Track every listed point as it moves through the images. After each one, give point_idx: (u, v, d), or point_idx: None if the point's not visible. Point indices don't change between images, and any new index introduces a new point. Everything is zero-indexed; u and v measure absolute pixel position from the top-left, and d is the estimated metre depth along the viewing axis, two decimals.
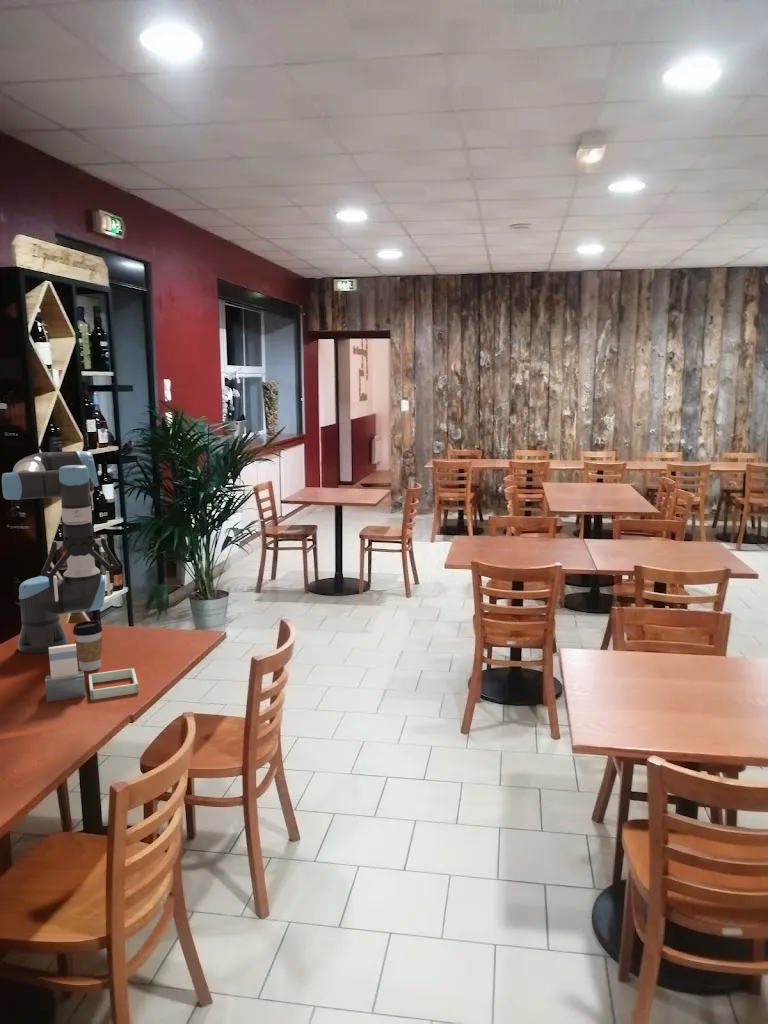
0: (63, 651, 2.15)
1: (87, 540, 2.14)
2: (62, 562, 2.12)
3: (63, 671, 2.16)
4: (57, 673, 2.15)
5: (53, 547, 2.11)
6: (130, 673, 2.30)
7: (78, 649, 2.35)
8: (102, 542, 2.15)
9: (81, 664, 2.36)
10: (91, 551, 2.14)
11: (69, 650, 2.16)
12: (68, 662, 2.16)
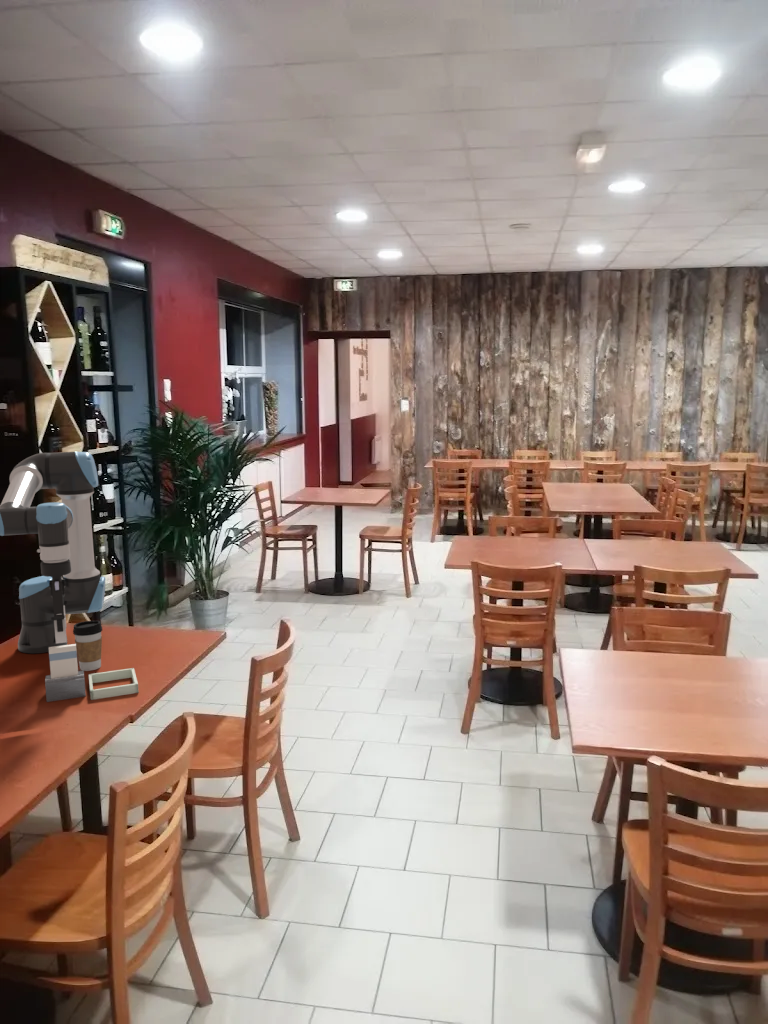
0: (63, 651, 2.15)
1: None
2: None
3: (63, 671, 2.16)
4: (57, 673, 2.15)
5: None
6: (130, 673, 2.30)
7: (78, 649, 2.35)
8: (52, 586, 2.06)
9: (81, 664, 2.36)
10: (50, 592, 2.09)
11: (69, 650, 2.16)
12: (68, 662, 2.16)
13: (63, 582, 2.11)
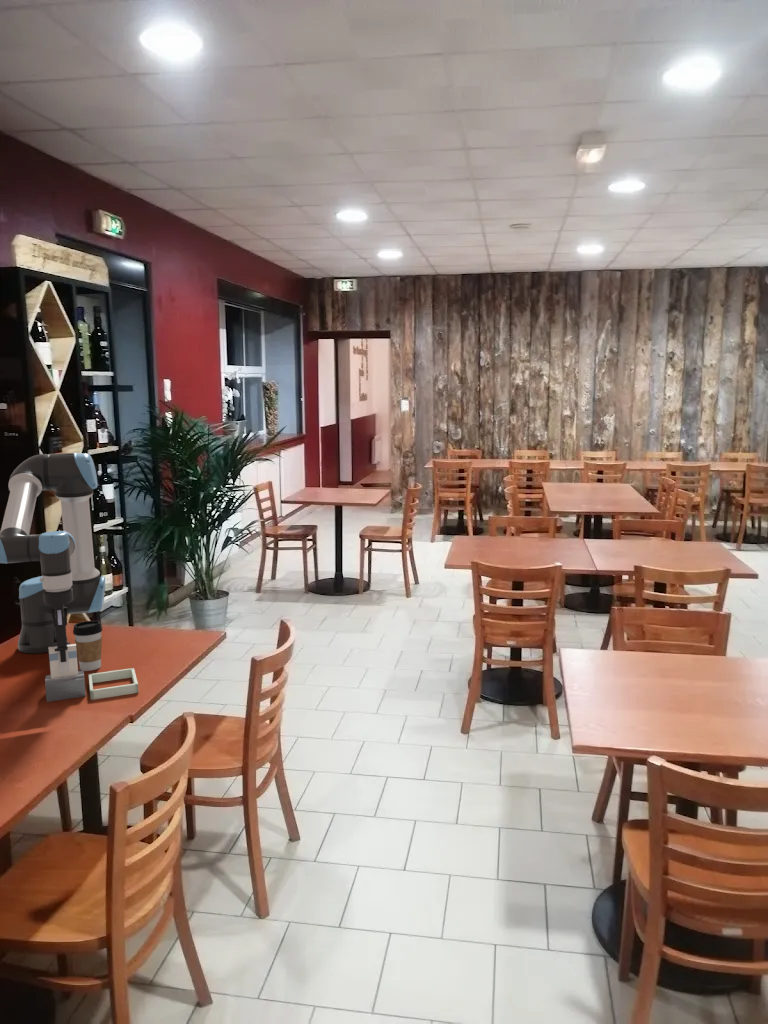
0: None
1: (54, 608, 2.11)
2: None
3: None
4: (57, 673, 2.15)
5: None
6: (130, 673, 2.30)
7: (78, 649, 2.35)
8: None
9: (81, 664, 2.36)
10: (53, 622, 2.12)
11: (69, 650, 2.16)
12: None
13: (65, 612, 2.13)
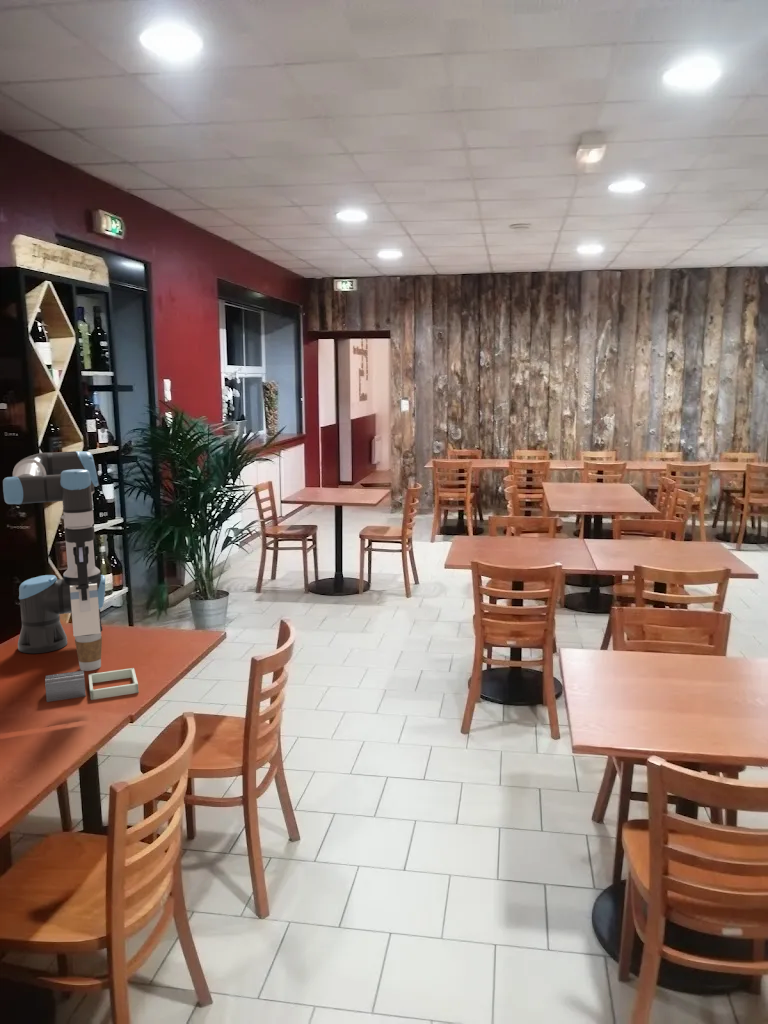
0: None
1: (76, 545, 2.10)
2: None
3: None
4: (78, 612, 2.15)
5: None
6: (130, 673, 2.30)
7: (78, 649, 2.35)
8: (76, 558, 2.08)
9: (81, 664, 2.36)
10: (74, 559, 2.12)
11: (90, 589, 2.15)
12: None
13: (87, 550, 2.12)
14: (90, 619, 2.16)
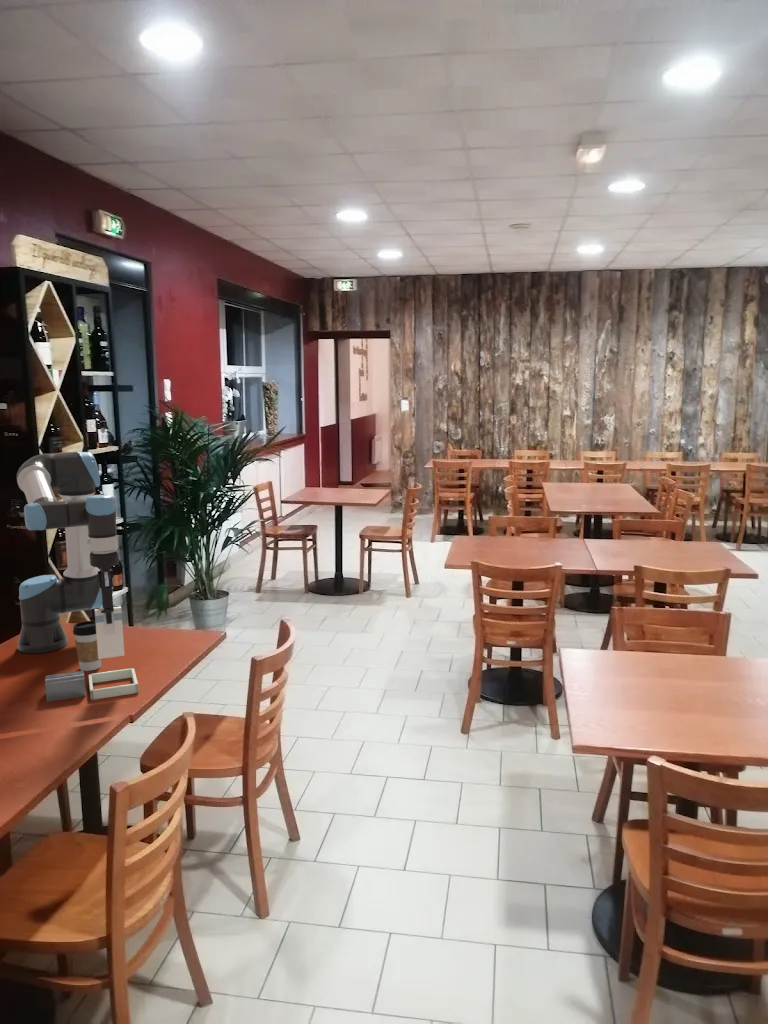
0: None
1: (101, 570, 2.14)
2: None
3: None
4: (102, 635, 2.18)
5: None
6: (130, 673, 2.30)
7: (78, 649, 2.35)
8: (102, 582, 2.12)
9: (81, 664, 2.36)
10: (99, 583, 2.15)
11: (114, 612, 2.19)
12: None
13: (112, 574, 2.16)
14: (114, 642, 2.20)
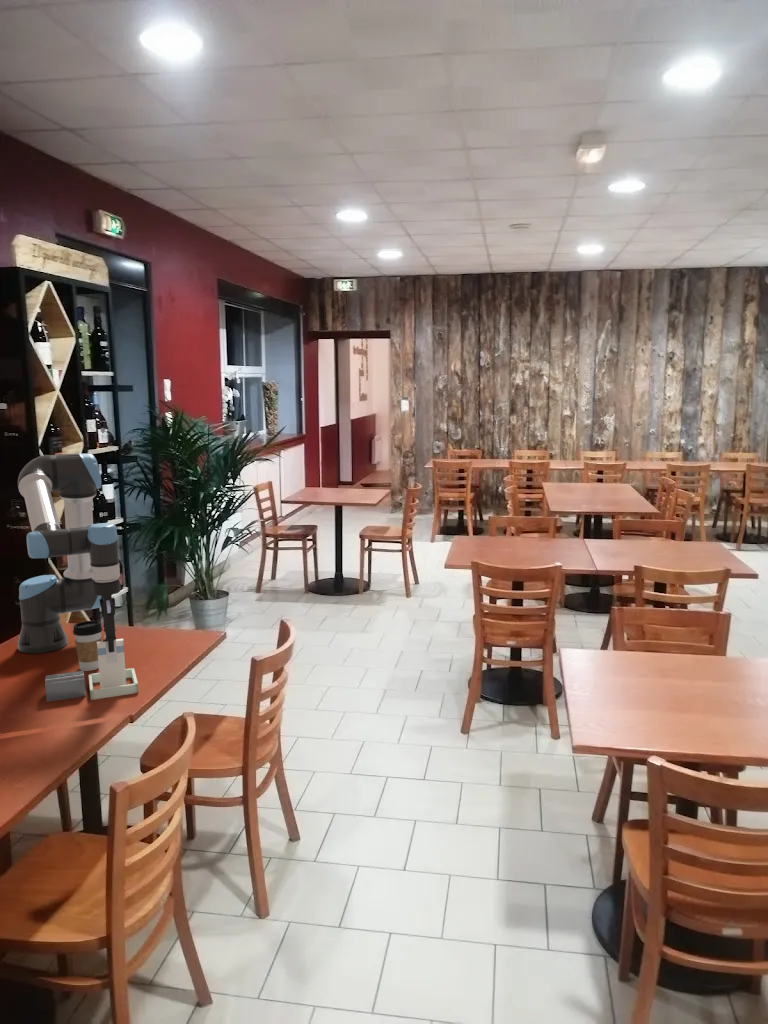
0: None
1: (103, 598, 2.15)
2: None
3: (111, 665, 2.21)
4: (105, 668, 2.20)
5: None
6: (130, 673, 2.30)
7: (78, 649, 2.35)
8: (104, 609, 2.13)
9: (81, 664, 2.36)
10: (101, 611, 2.16)
11: (117, 645, 2.20)
12: None
13: (113, 601, 2.17)
14: (116, 674, 2.22)
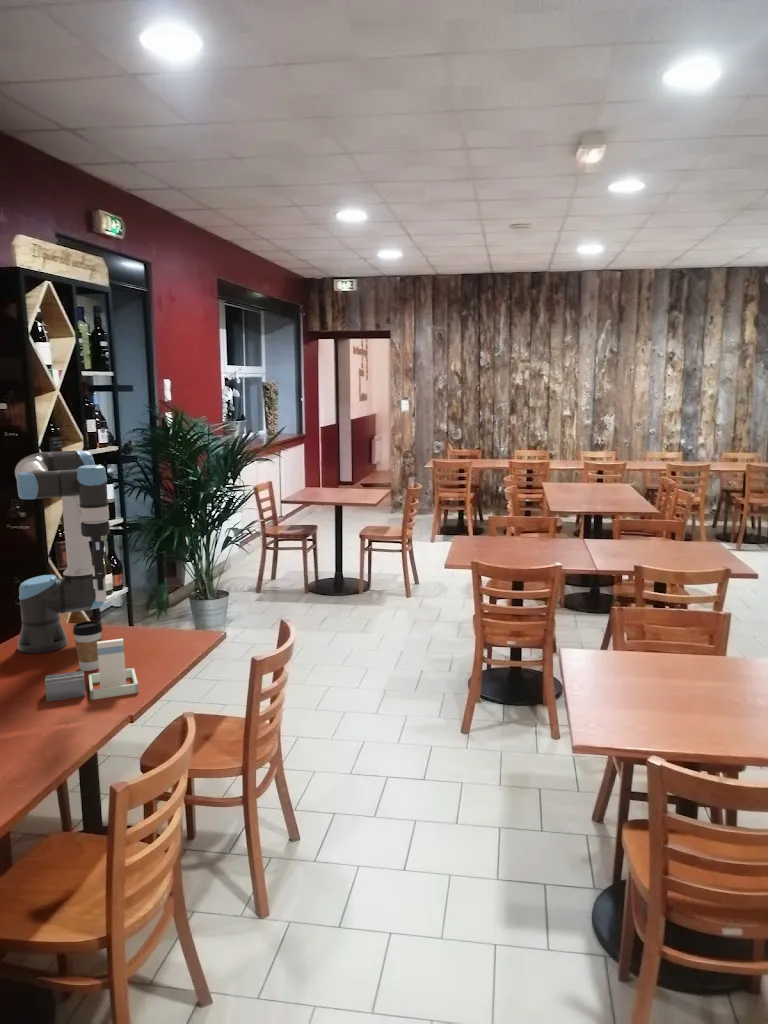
0: (111, 646, 2.20)
1: (92, 540, 2.16)
2: None
3: (111, 665, 2.21)
4: (105, 668, 2.20)
5: (90, 538, 2.24)
6: (130, 673, 2.30)
7: (78, 649, 2.35)
8: (92, 546, 2.13)
9: (81, 664, 2.36)
10: (90, 552, 2.16)
11: (117, 645, 2.20)
12: (116, 656, 2.21)
13: (102, 543, 2.18)
14: (116, 674, 2.22)
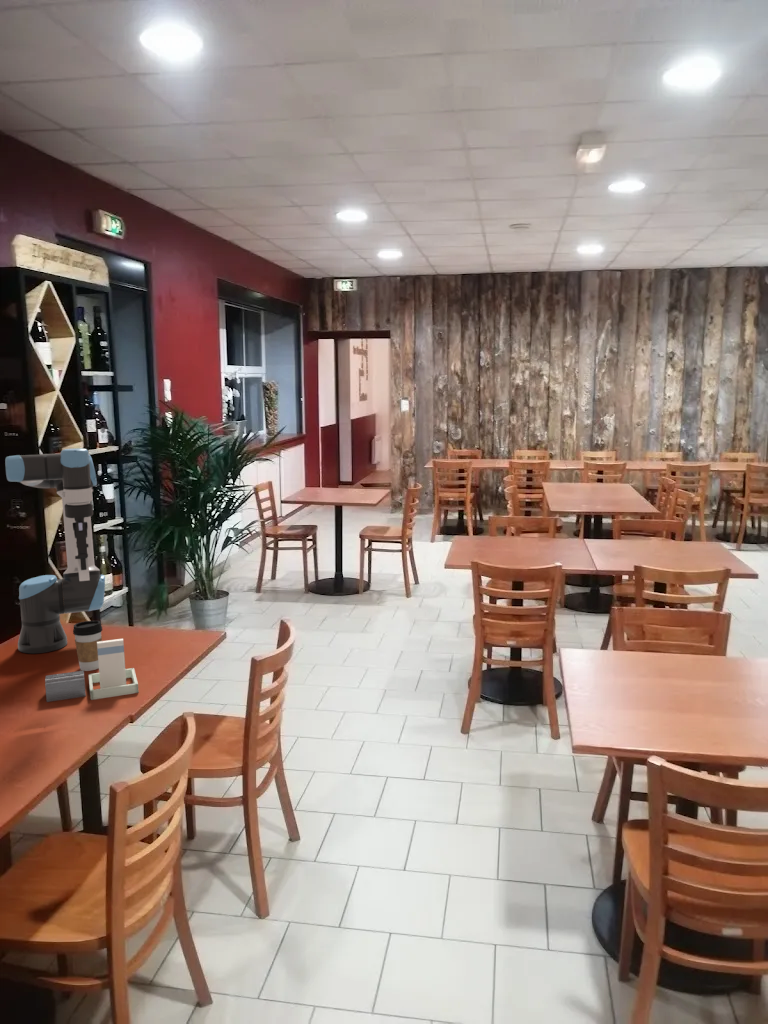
0: (111, 646, 2.20)
1: None
2: None
3: (111, 665, 2.21)
4: (105, 668, 2.20)
5: (75, 521, 2.29)
6: (130, 673, 2.30)
7: (78, 649, 2.35)
8: (75, 527, 2.18)
9: (81, 664, 2.36)
10: (74, 533, 2.21)
11: (117, 645, 2.20)
12: (116, 656, 2.21)
13: (86, 524, 2.23)
14: (116, 674, 2.22)
